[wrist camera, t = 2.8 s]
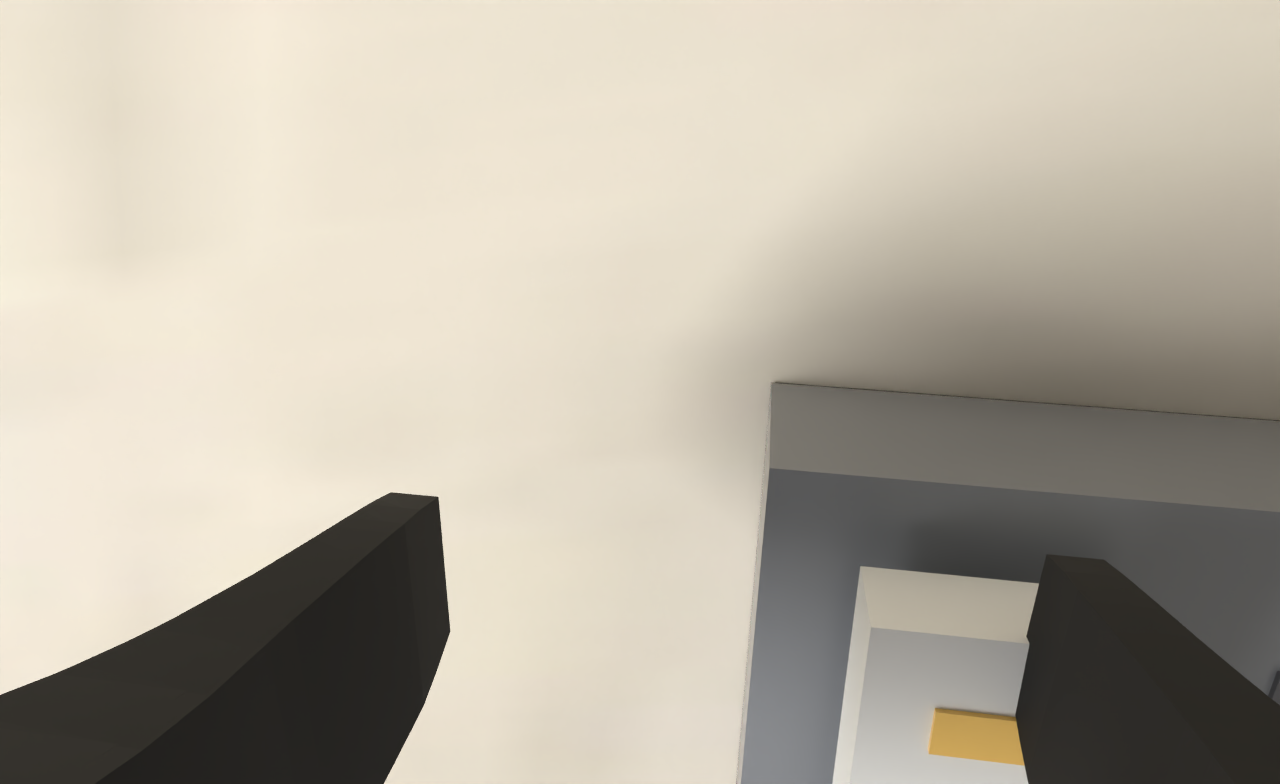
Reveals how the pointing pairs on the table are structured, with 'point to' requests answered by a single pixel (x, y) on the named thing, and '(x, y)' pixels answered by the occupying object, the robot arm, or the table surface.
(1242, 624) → the grey flat tray
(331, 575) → the robot arm
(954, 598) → the rocker
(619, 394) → the table surface
